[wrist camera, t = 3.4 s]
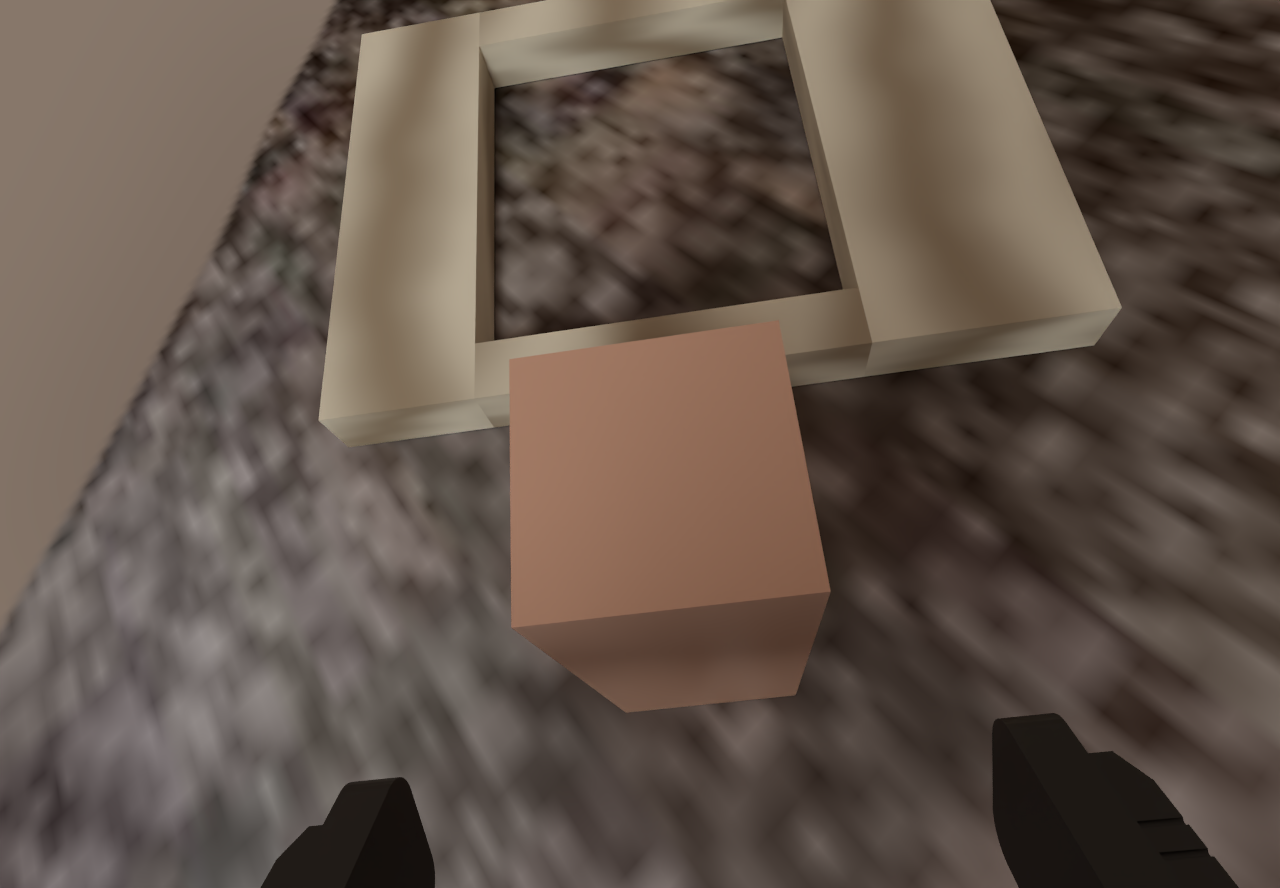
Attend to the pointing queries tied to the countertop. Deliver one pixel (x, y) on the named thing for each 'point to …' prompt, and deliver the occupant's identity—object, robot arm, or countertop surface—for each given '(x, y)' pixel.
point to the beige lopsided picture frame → (810, 324)
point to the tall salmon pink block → (665, 518)
